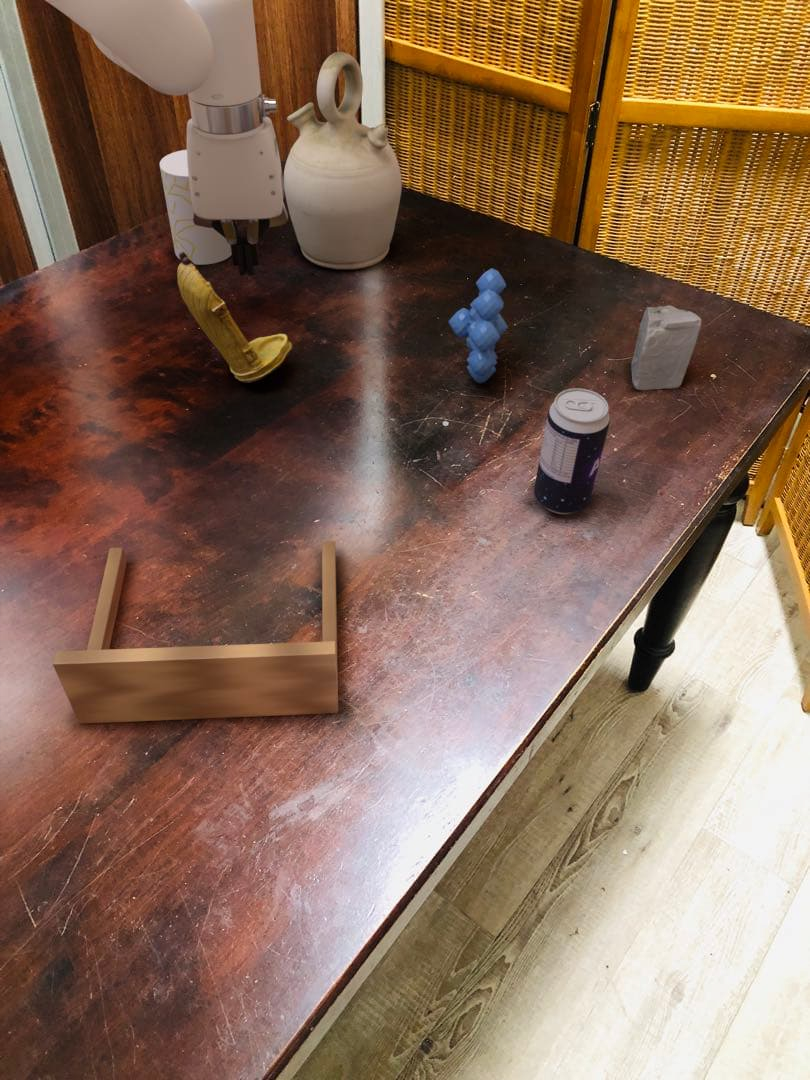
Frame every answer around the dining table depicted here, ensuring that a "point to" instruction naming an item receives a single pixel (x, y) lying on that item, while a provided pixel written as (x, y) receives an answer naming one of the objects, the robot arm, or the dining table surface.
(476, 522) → the dining table surface
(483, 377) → the grapes
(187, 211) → the white upright cylinder
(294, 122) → the jug
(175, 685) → the wooden bench frame
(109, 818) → the dining table surface
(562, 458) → the beverage can
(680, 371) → the mineral specimen
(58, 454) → the dining table surface
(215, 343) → the shrine
